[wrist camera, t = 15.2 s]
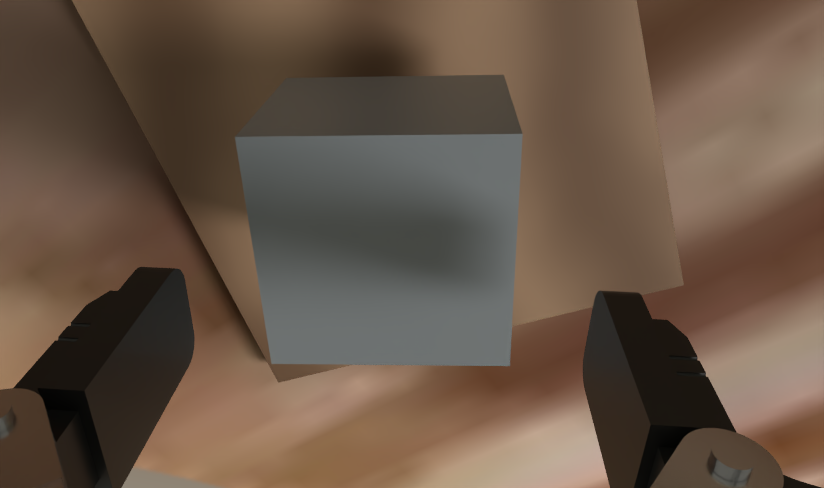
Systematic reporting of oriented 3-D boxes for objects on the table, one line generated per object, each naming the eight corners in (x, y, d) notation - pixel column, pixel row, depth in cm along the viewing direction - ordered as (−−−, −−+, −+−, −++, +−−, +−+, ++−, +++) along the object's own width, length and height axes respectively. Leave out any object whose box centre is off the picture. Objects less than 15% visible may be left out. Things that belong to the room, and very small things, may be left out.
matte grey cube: (286, 77, 18) (235, 136, 14) (503, 74, 18) (522, 133, 13) (308, 265, 21) (271, 363, 17) (496, 265, 21) (509, 365, 16)
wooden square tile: (588, -225, 17) (676, -300, 11) (673, 268, 24) (758, 409, 18) (80, -25, 20) (-97, 14, 14) (284, 363, 27) (232, 514, 21)
